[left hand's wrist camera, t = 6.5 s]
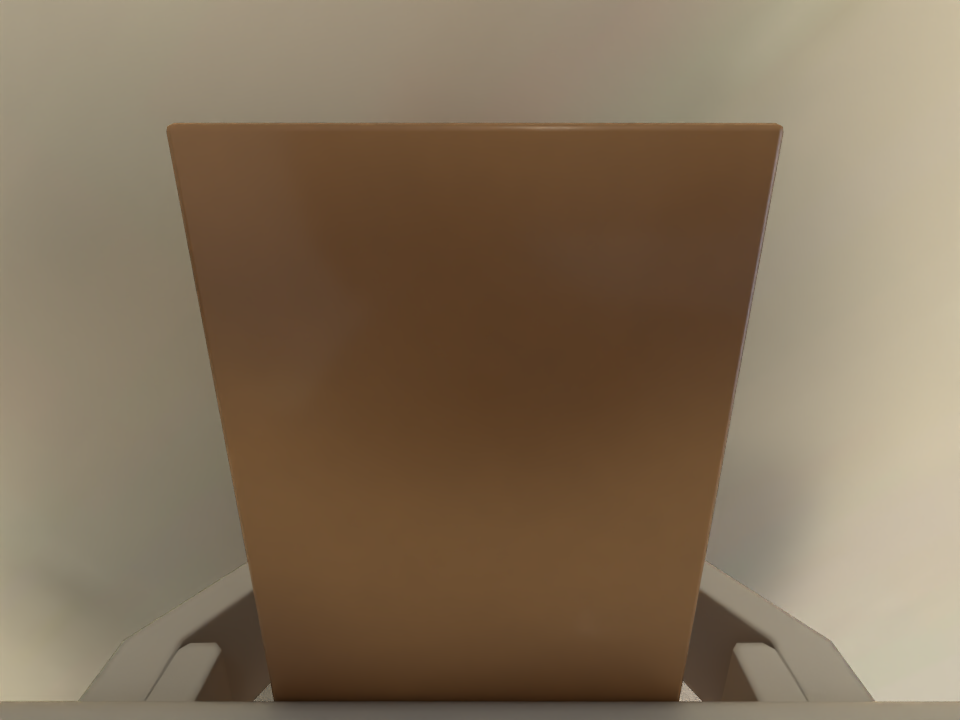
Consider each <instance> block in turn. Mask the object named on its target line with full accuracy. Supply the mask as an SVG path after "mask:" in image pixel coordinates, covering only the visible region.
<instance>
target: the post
mask: <svg viewBox="0 0 960 720" xmlns="http://www.w3.org/2000/svg"><path fill="white" fill-rule="evenodd" d="M167 137H168V142H169V148H170V153H171V158H172V164H173V169H174V174H175V179H176V185H177V190H178V195H179V201H180V206H181V211H182V216H183V222H184V227H185V232H186V238H187V243H188V248H189V254H190V259H191V264H192V269H193V275H194V280H195V285H196V291H197V296H198V301H199V306H200V312H201V317H202V322H203V328H204V333H205V338H206V344H207V349H208V354H209V359H210V365H211V370H212V375H213V381H214V386H215V391H216V396H217V402H218V407H219V412H220V418H221V423H222V428H223V433H224V439H225V444H226V449H227V455H228V460H229V465H230V471H231V476H232V481H233V486H234V492H235V497H236V502H237V508H238V513H239V518H240V523H241V529H242V534H243V539H244V545H245V550H246V555H247V561H248V566H249V571H250V576H251V582H252V587H253V592H254V598H255V603H256V608H257V613H258V619H259V624H260V629H261V635H262V640H263V645H264V650H265V656H266V661H267V666H268V672H269V677H270V682H271V688H272V693H273V698H274V702H286V701H575V702H679V698H680V692H681V687H682V681H683V676H684V670H685V665H686V660H687V654H688V649H689V643H690V638H691V632H692V627H693V621H694V616H695V611H696V605H697V600H698V594H699V589H700V583H701V578H702V572H703V567H704V562H705V556H706V551H707V545H708V540H709V534H710V529H711V523H712V518H713V512H714V507H715V502H716V496H717V491H718V485H719V480H720V474H721V469H722V463H723V458H724V453H725V447H726V442H727V436H728V431H729V425H730V420H731V414H732V409H733V404H734V398H735V393H736V387H737V382H738V376H739V371H740V365H741V360H742V354H743V349H744V344H745V338H746V333H747V327H748V322H749V316H750V311H751V305H752V300H753V295H754V289H755V284H756V278H757V273H758V267H759V262H760V256H761V251H762V246H763V240H764V235H765V229H766V224H767V218H768V213H769V207H770V202H771V196H772V191H773V186H774V180H775V175H776V169H777V164H778V158H779V153H780V147H781V142H782V137H783V127H782V126H781V125H779V124H777V123H173V124H171V125H169V126H167Z"/></svg>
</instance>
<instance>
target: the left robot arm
mask: <svg viewBox="0 0 960 720" xmlns="http://www.w3.org/2000/svg"><path fill="white" fill-rule="evenodd" d="M683 681H684V682H685V683H686V684H687V686H688V687H689V688H690V689H691V690H692V691H693V692H694V693H695V694H696V695H697V696H698V697H699V698H700V699H701V700H702V701H703V702H575V701H286V702H252V701H253V700H254V699H255V698H256V697H257V696H258V695H259V694H260V693H261V692H262V691H263V690H264V689H265V688H266V687H267V686H268V685H269V684H270V683H271V682H270V677H269V672H268V666H267V661H266V656H265V650H264V645H263V640H262V635H261V629H260V624H259V619H258V613H257V608H256V603H255V598H254V592H253V587H252V582H251V576H250V571H249V566H248V562H247V563H245V564H243V565H242V566H240V567H239V568H237V569H236V570H234V571H232V572H231V573H229V574H228V575H226V576H224V577H223V578H221V579H220V580H218V581H217V582H215V583H213V584H212V585H210V586H209V587H207V588H206V589H204V590H202V591H201V592H199V593H198V594H196V595H194V596H193V597H191V598H190V599H188V600H187V601H185V602H183V603H182V604H180V605H179V606H177V607H176V608H174V609H172V610H171V611H169V612H168V613H166V614H164V615H163V616H161V617H160V618H158V619H157V620H155V621H153V622H152V623H150V624H149V625H147V626H146V627H144V628H142V629H141V630H139V631H138V632H136V633H134V634H133V635H131V636H130V637H128V638H127V639H125V640H124V641H123V642H122V643H121V645H120V646H119V647H118V649H117V650H116V651H115V653H114V654H113V655H112V657H111V658H110V659H109V661H108V662H107V663H106V665H105V666H104V667H103V669H102V670H101V671H100V673H99V674H98V675H97V677H96V678H95V679H94V681H93V682H92V683H91V685H90V686H89V687H88V689H87V690H86V691H85V693H84V694H83V695H82V697H81V698H80V699H79V701H0V720H960V701H943V702H875V700H874V699H873V698H872V696H871V695H870V693H869V692H868V691H867V689H866V688H865V687H864V685H863V684H862V682H861V681H860V680H859V678H858V677H857V676H856V674H855V673H854V672H853V670H852V669H851V667H850V666H849V665H848V663H847V662H846V661H845V659H844V658H843V657H842V655H841V654H840V652H839V651H838V650H837V648H836V647H835V646H834V644H833V643H832V641H830V640H829V639H827V638H825V637H824V636H822V635H821V634H819V633H818V632H816V631H815V630H813V629H811V628H810V627H808V626H807V625H805V624H804V623H802V622H801V621H799V620H797V619H796V618H794V617H793V616H791V615H790V614H788V613H786V612H785V611H783V610H782V609H780V608H779V607H777V606H776V605H774V604H772V603H771V602H769V601H768V600H766V599H765V598H763V597H762V596H760V595H758V594H757V593H755V592H754V591H752V590H751V589H749V588H747V587H746V586H744V585H743V584H741V583H740V582H738V581H737V580H735V579H733V578H732V577H730V576H729V575H727V574H726V573H724V572H723V571H721V570H719V569H718V568H716V567H715V566H713V565H712V564H710V563H708V562H707V561H705V562H704V567H703V572H702V578H701V583H700V589H699V594H698V600H697V605H696V611H695V616H694V621H693V627H692V632H691V638H690V643H689V649H688V654H687V660H686V665H685V670H684V676H683Z"/></svg>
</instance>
